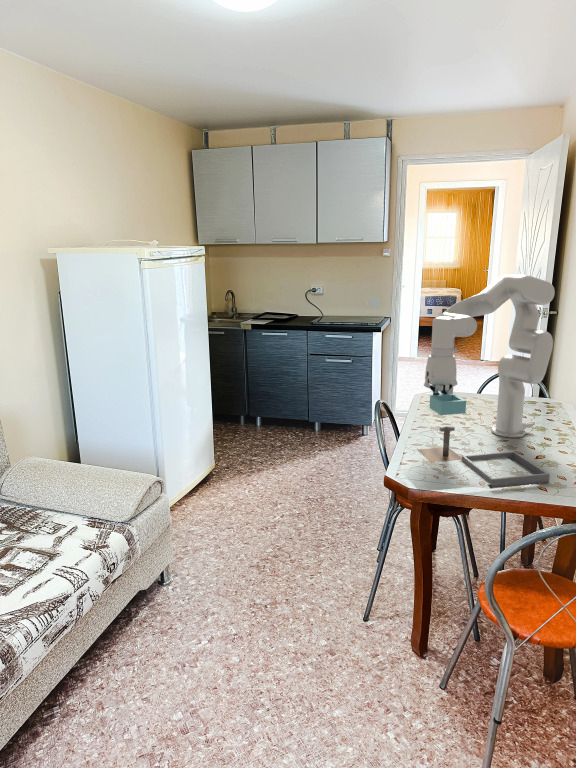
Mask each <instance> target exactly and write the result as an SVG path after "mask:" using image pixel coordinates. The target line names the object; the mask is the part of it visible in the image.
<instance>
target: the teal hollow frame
mask: <svg viewBox="0 0 576 768" xmlns="http://www.w3.org/2000/svg"><path fill="white" fill-rule="evenodd" d="M438 393H439V394H440V395H433V394H432V395H429V408H430V409H431V410H432V411H434V412H435V413H436V414H438V415H439V416H448V415H449V416H450V415H462V414H464V415H465V414H466V412H467V400H466V399H464V398H463V397H461V396H459V395H457V394H455V393H453V394H443V393H441V392H440V391H438Z"/></svg>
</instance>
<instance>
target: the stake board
mask: <svg viewBox="0 0 576 768" xmlns="http://www.w3.org/2000/svg"><path fill="white" fill-rule="evenodd" d="M455 430H456V427H455V426H439V432H442V433H443V441H442V442H443V443H442V447H431V448H429V447H428V448H419V449H417V451H418V452H419V453H420V454H421V455H422V456H423V457H425V459H426V460H428V461H429V462H430V463H437V462H438V463H440V462H451V461H452V462H453V461H460V460H461V461H462V456H460V455H459V454H458V453H457V452H455V451H454V450H452V448H450V440H451V439H450V436H451V432H455Z"/></svg>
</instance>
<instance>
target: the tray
mask: <svg viewBox="0 0 576 768" xmlns="http://www.w3.org/2000/svg"><path fill="white" fill-rule="evenodd" d="M461 458H462V460H461V461H463V462H464V463H465V464H466V465H468V466H469V467H470V468H471V469H472V470H474V471H475V472H476V473H477V474H478V475H479V476H481V477H482V478H484V479H485V480H486V482H488V483H490V484H487V486H488V487H489V488H490V489H498V488H500V489H501V488H509V487H519V486H530V485H529V484H531V485H538V484H539V483H542V484H549V483H550V477H551V476H550V475H551V474H550V473H549V472H547V471H546V470H544V469H543V468H541V467H540V466H538V465H536V464H535V463H534V462H532V461H530V460H529V459H527V458H526V457H524V456H522V455H521V454H519V453H518V452H516V451H513V450H512V451H503V452H489V453H478V454H467V455H461ZM500 458H507V459H509V460H510V461H512V462H513V463H515V464H516V465H518V466H519V467H520V468H522V469H524V470H525V471H526V472H528V473H529V474H524V475H522V474H521V475H514V476H513V475H511V476H503V477H500V476H499V477H493V476H492V475H490V474H488V472H486V471H485V470H484V469H482V468H481V467H480V466H478V465H477V464H476V463H474V462H473V461H475V460H477V461H478V460H487V459H500Z"/></svg>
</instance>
